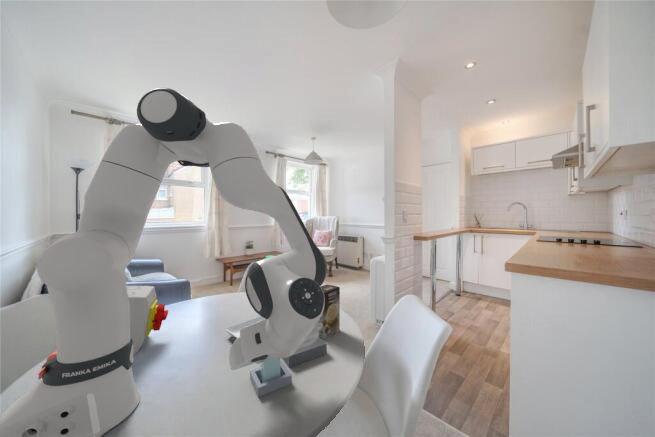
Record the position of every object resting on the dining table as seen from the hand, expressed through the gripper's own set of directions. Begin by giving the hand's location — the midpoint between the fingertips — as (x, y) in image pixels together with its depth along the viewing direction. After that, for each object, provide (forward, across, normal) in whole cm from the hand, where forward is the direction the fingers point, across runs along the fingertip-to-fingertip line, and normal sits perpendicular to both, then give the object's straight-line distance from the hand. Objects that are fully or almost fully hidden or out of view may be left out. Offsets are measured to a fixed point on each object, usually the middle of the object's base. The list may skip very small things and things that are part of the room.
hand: (269, 356), depth 59 cm
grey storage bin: (+4, 0, +5) cm, 7 cm away
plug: (+4, 0, +5) cm, 6 cm away
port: (+10, -12, 0) cm, 16 cm away
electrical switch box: (+34, +31, -24) cm, 52 cm away
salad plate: (+22, -7, -12) cm, 26 cm away
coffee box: (+16, -26, -6) cm, 31 cm away
